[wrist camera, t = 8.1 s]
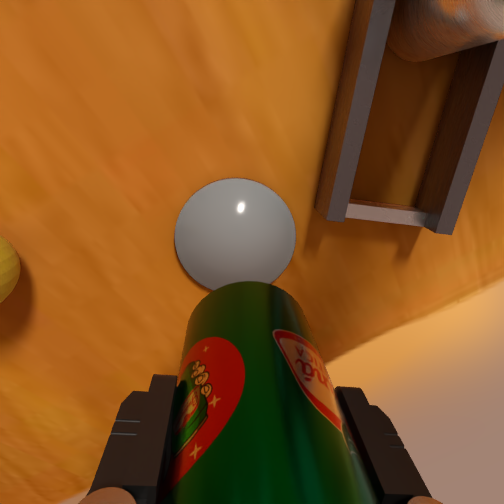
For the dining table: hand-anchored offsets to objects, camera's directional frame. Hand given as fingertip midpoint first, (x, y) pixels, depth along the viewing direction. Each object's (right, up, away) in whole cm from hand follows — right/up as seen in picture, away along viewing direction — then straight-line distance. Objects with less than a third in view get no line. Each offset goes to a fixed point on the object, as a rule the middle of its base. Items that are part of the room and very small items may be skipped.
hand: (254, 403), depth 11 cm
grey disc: (-1, +6, +16) cm, 17 cm away
